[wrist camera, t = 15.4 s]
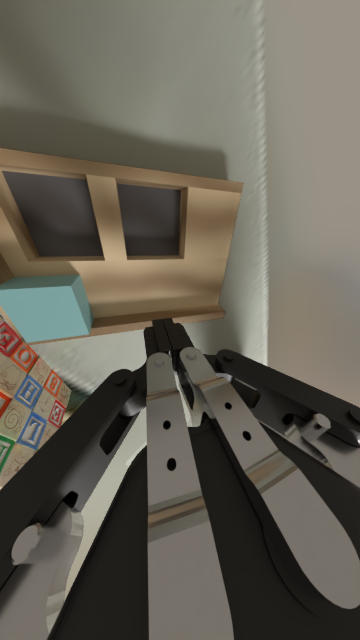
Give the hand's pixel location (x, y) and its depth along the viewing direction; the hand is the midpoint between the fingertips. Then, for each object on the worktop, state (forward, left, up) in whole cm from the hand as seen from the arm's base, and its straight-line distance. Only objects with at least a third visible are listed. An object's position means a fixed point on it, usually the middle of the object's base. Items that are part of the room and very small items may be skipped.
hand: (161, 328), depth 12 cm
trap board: (+4, +1, -10) cm, 10 cm away
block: (0, +9, -7) cm, 11 cm away
